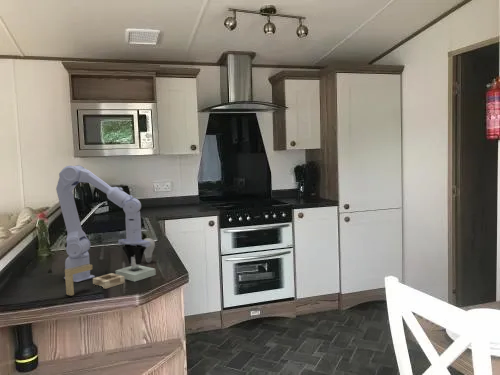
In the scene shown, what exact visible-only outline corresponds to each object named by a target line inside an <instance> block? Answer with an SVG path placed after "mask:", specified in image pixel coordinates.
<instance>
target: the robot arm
mask: <svg viewBox="0 0 500 375" xmlns="http://www.w3.org/2000/svg"><path fill="white" fill-rule="evenodd" d="M79 183H87V184H89V185H91V186H93V187H95V188H96V189H98V190H100V191H101V192H103V193H104V194H106V198H107V199H108V200H109V201H111V202H112V204H115V205H116V206H118V207H119V208H120V209H122V210H123V212H124V214H125V219H124V220H125V233H126V234H125V236H126V238H121V239H118V241H117V242H118V245H120V246H121V245H124V246H122V250H123V252H124V253H125V255H126V257H127V259H128V260H127V261H128V263H129V264H130V265H131V256H133V255H135V260H136V265H138V264H139V265H141V264H142V261H143V256H144V251H145V249H146V247H149V246H150V241H146V240H144V239H142V238H143V237H142V219H141V211H140V210H141V209H142V203H141V201H140V200H139V199H138V198H136V197H133V195H132V194H128V193H127V192H125V191H124V189H123V187H118V186H111V185H109V184H108V183H107V182H106V181H104V180H103V179H102V178H100V177H99V176H98V175H96V174H94V173H93V172H92V171H91V170H89V169H88V168H85V167H83V166H82V165H80V164H78V165H66V166H65V167H63V168H62V170H60V172H59V174H58V181H57V185H56V189H55V190H56V194H57V197H58V202H59V205H60V209H61V213H62V217H63V221H64V225H65V228H66V232H67V233H66V234H67V235H66V239H65V241H66V242H65V243H66V247H65V250H66V251H65V252H66V253H67V255H68V256H67V258H65V262H64V266H65V267H64V270H65V269H69V268H73V267H77V266H81V265H85V264H90V253H89V250H90V249H91V241H90V239H89V238H88V237H87V234H86V232H85V231H84V230H83V228H82V225H81V220H80V216H79V213H78V209H77V205H76V201H75V200H76V199H75V197H74V193H73V191H74V189H75V188H76V186H78V184H79ZM93 278H96V276H95V275H93V274H91V270H88V271H84V272H80V273H77V274H73V283H79V282H82V281H86V280H90V279H93ZM63 279H64V280H65V276H64V277H63Z"/></svg>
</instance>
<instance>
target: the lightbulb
mask: <svg viewBox="0 0 500 375" xmlns="http://www.w3.org/2000/svg"><path fill="white" fill-rule="evenodd" d="M143 240H146V241H150V246H149V247H146V249H145V251H144V253H143V255H144V258H145V262H146V263H148V264H150V263H151V262H152V260H153V259H152V257H153V252H154V250H155V247H156V243H155V241H154V239H152V238H150V237H149V238H144V239H143Z"/></svg>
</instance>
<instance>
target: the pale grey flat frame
mask: <svg viewBox="0 0 500 375" xmlns="http://www.w3.org/2000/svg"><path fill="white" fill-rule="evenodd" d="M156 270H157V269H156V268H153V267H149V266H145V265H141V264H139V271H135V272H133V271H131V265H130V266H126V267H122V268H119V269H116V270H115V271H114V272H115V274H117V275H121V276H124V279H125V280H126V281H131V282H138V281H141V280H144V279H149V278H150V277H154V276H156V275H157V273H156V272H157V271H156Z"/></svg>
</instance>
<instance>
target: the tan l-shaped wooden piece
mask: <svg viewBox="0 0 500 375" xmlns="http://www.w3.org/2000/svg"><path fill="white" fill-rule="evenodd" d="M88 270H90V271H92V270H93V264H85V265H81V266H77V267H73V268H69V269H65V268H64V277H65V279H64V280H65V281H64V282H65V293H66V295H67V296H75V291H74V290H75V289H74V281H73V274H77V273H80V272H84V271H88Z"/></svg>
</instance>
